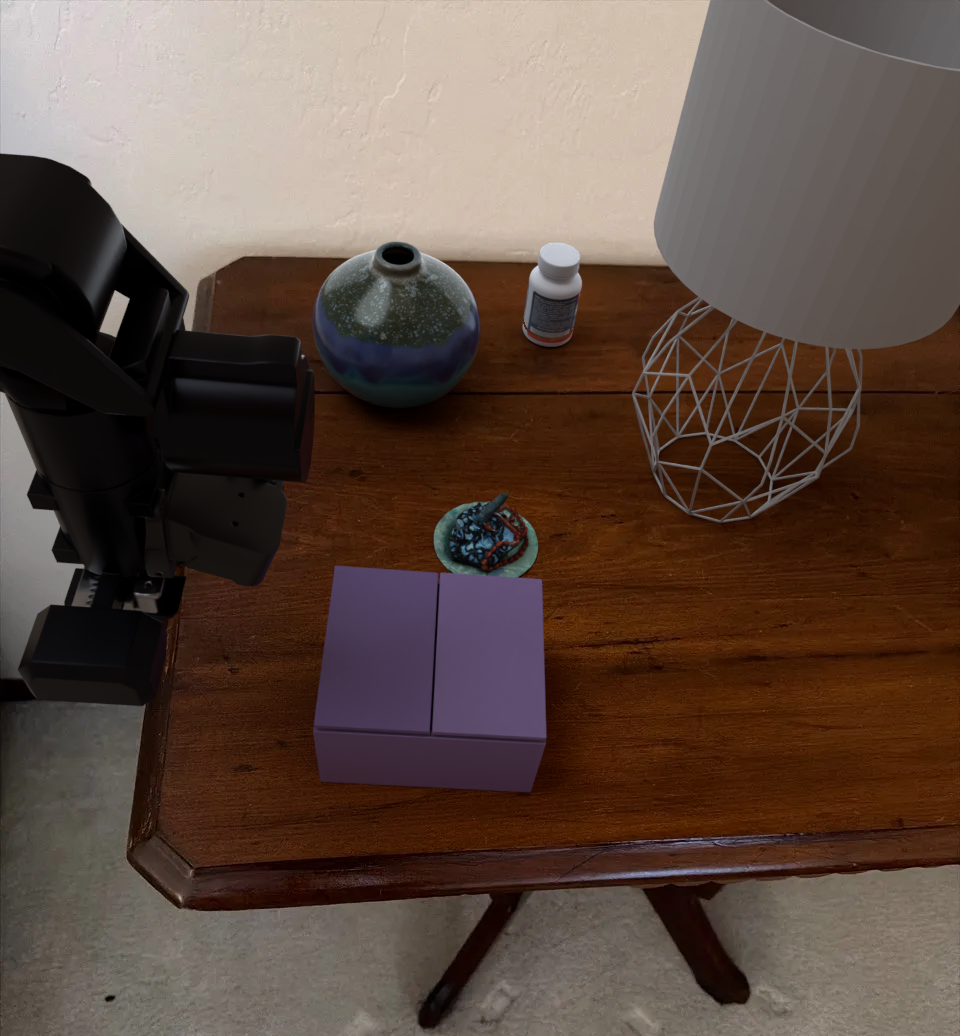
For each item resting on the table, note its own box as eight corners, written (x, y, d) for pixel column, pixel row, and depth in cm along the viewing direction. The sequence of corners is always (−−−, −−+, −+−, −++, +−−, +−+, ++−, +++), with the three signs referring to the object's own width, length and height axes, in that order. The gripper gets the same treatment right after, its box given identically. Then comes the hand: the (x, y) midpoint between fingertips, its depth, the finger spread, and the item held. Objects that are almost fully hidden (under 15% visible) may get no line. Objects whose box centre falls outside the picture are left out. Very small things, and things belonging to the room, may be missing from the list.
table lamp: (562, 406, 88) (668, -100, 55) (770, 383, 93) (981, -97, 60) (641, 587, 77) (834, 82, 44) (873, 550, 81) (1207, 68, 48)
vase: (316, 434, 83) (305, 310, 72) (316, 326, 92) (307, 200, 81) (482, 434, 85) (497, 312, 74) (467, 328, 94) (479, 205, 83)
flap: (313, 728, 58) (313, 725, 57) (335, 568, 65) (334, 565, 65) (429, 734, 58) (429, 731, 58) (437, 575, 66) (438, 572, 65)
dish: (441, 478, 78) (504, 479, 73) (495, 510, 83) (557, 513, 78) (413, 566, 77) (474, 573, 72) (469, 593, 82) (530, 601, 77)
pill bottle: (579, 345, 94) (595, 267, 86) (532, 351, 93) (544, 274, 85) (561, 313, 96) (575, 235, 89) (515, 319, 95) (525, 241, 88)
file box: (319, 781, 64) (312, 725, 57) (338, 630, 72) (334, 564, 65) (530, 792, 65) (547, 738, 58) (528, 642, 73) (543, 578, 66)
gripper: (235, 618, 39) (267, 776, 52) (291, 338, 49) (307, 527, 62) (-35, 600, 38) (66, 765, 51) (80, 318, 49) (140, 514, 61)
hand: (157, 631), depth 56 cm, fingers closed
